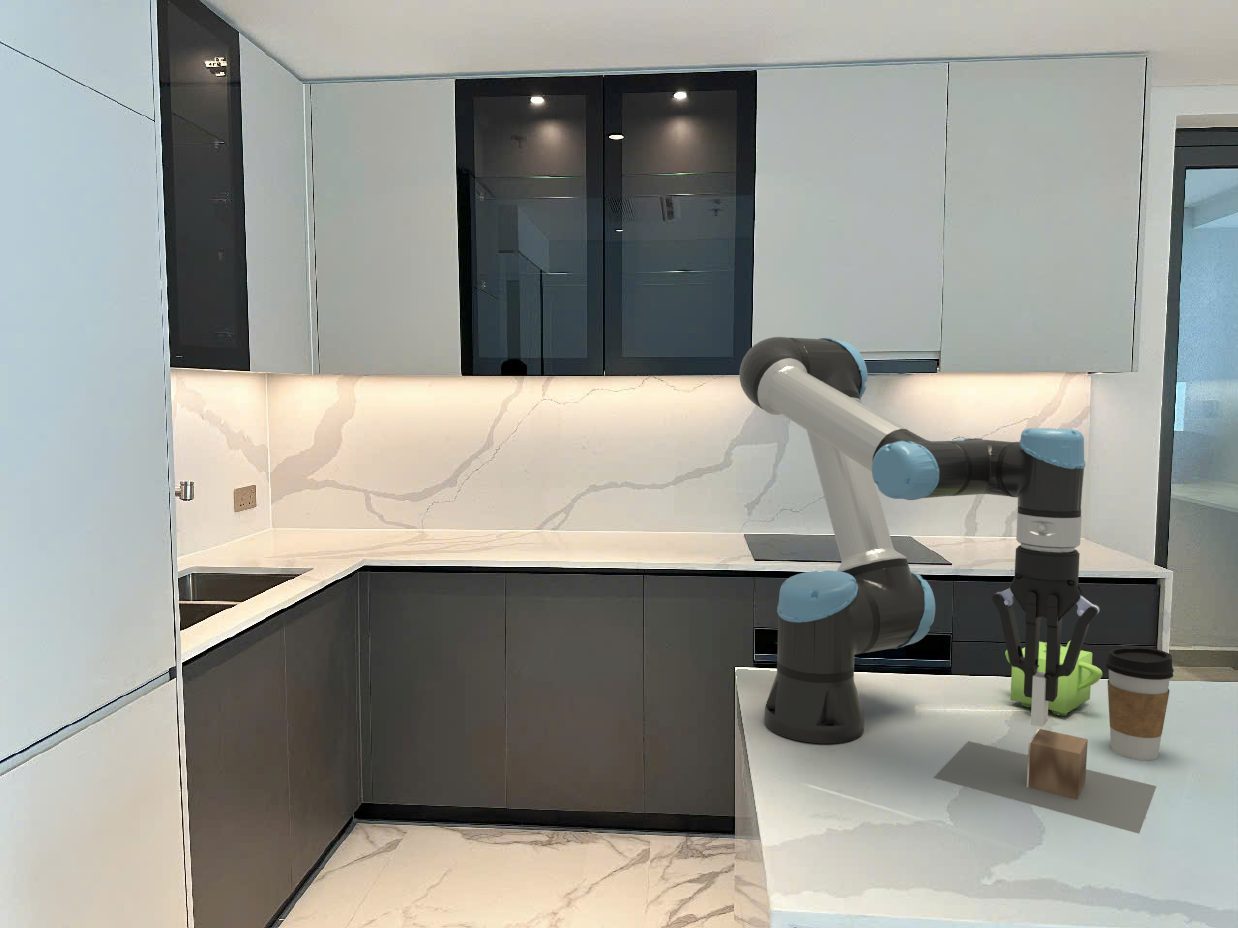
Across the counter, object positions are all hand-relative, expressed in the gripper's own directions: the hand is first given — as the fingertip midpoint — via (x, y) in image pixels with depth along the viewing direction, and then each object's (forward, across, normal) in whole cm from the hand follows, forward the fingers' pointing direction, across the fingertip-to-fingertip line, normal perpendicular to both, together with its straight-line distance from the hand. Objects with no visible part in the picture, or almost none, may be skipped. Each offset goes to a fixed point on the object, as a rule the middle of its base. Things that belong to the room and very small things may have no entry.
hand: (1039, 722), depth 117 cm
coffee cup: (+8, +9, +19) cm, 23 cm away
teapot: (+9, -5, +33) cm, 35 cm away
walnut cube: (+5, -1, 0) cm, 5 cm away
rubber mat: (+8, +1, 0) cm, 8 cm away
